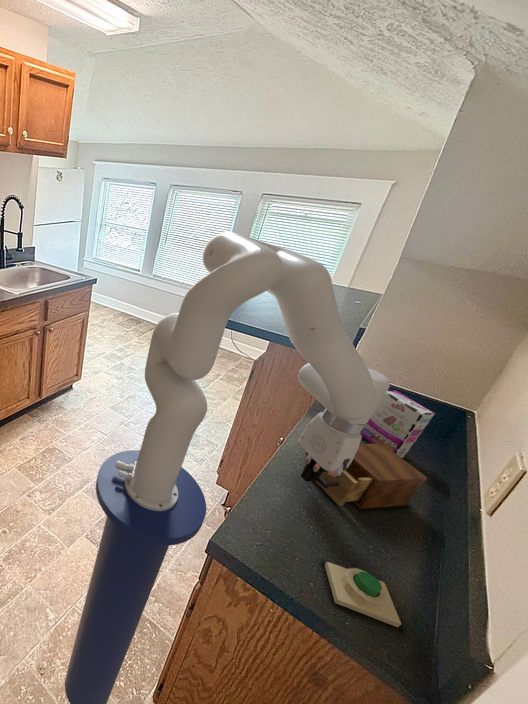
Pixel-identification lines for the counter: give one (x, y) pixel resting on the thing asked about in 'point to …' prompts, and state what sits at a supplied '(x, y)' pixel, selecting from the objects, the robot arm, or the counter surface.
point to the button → (368, 583)
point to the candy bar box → (396, 423)
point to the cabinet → (386, 477)
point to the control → (360, 595)
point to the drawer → (346, 484)
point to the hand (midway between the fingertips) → (308, 478)
